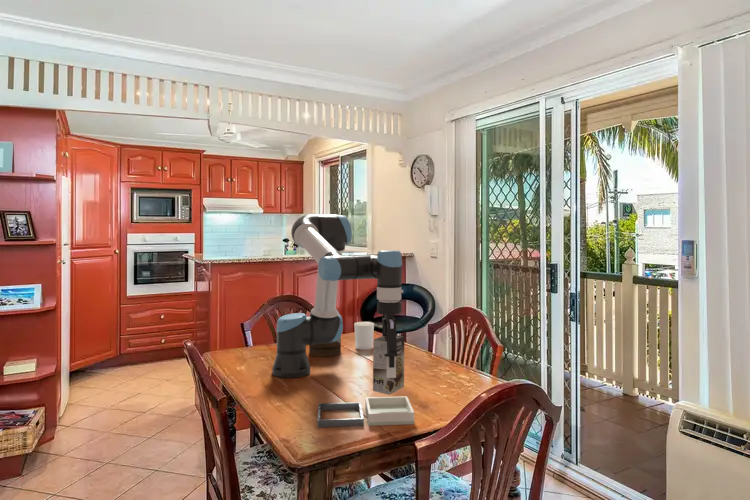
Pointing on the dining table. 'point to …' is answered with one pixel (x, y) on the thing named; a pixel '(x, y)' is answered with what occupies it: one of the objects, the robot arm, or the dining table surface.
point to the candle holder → (364, 335)
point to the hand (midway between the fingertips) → (388, 371)
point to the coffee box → (380, 366)
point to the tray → (389, 410)
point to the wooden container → (326, 348)
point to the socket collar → (340, 421)
